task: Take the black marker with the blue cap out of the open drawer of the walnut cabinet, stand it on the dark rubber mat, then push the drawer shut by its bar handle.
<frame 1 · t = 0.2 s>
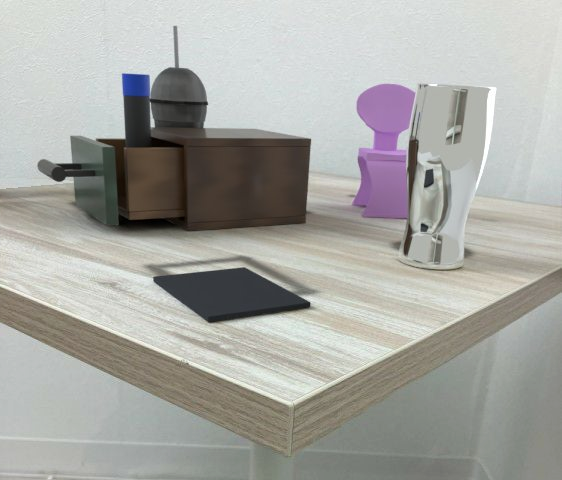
cabinet: (223, 215, 75), on the table
drawer: (131, 177, 68), point 5 cm above the table, slide at 7.0 cm, touching marker
toy chair: (380, 213, 83), on the table
beer glass: (429, 263, 60), on the table
marker: (140, 202, 69), point 2 cm above the table, touching drawer
mat: (228, 294, 48), on the table
beverage cup: (180, 198, 85), on the table
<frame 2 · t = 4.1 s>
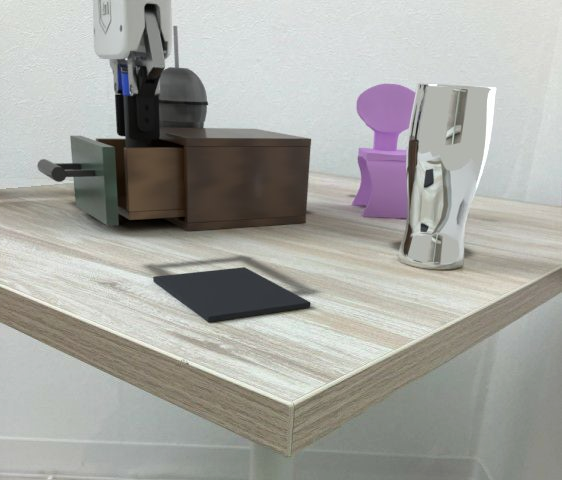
hand: (138, 136, 66), 9 cm above the table, tool pointing down, fingers closed on marker, 2 cm apart
marker: (140, 202, 69), point 2 cm above the table, touching drawer, gripper
everything else where it was.
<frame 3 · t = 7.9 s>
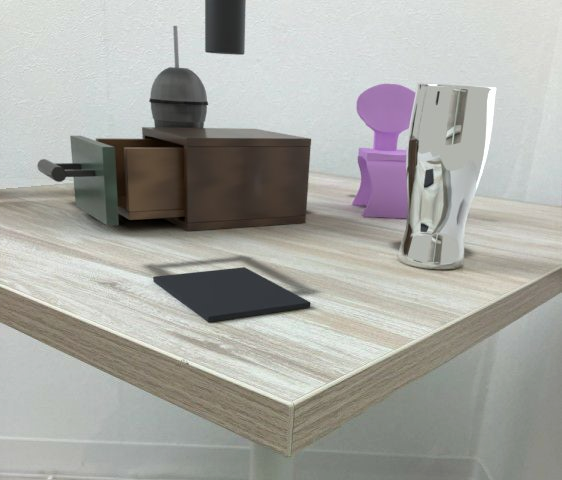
drawer: (131, 177, 68), point 5 cm above the table, slide at 7.0 cm
marker: (224, 53, 43), point 16 cm above the table, touching gripper
everything else where it was.
when the fingers open (7 cm above the table, at t = 11.7 s): marker stays where it is, resting on mat.
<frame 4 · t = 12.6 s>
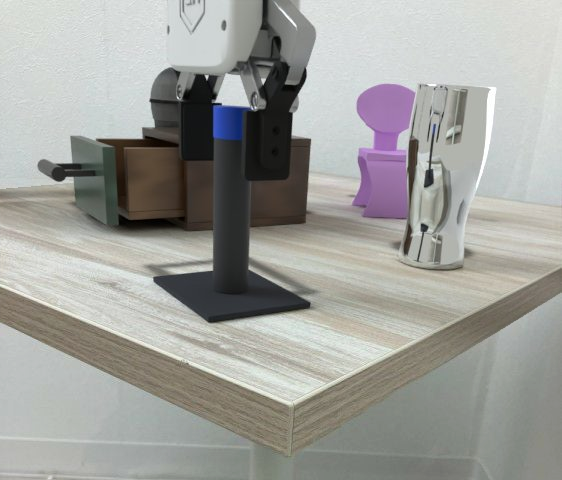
hand: (230, 169, 44), 9 cm above the table, tool pointing down, fingers open, 9 cm apart
marker: (230, 289, 48), resting on mat
everything else where it was.
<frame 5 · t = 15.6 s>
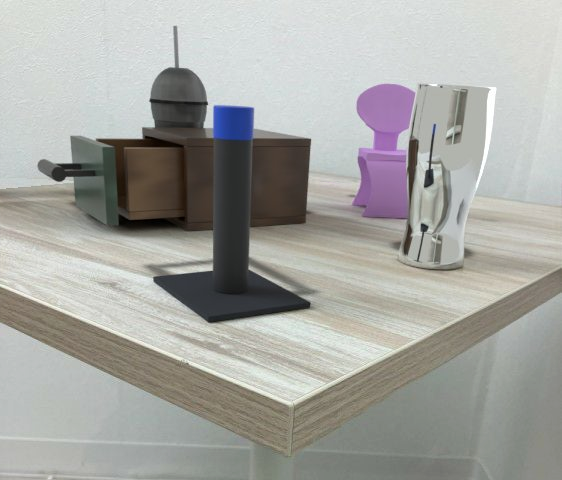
nothing on the table moved.
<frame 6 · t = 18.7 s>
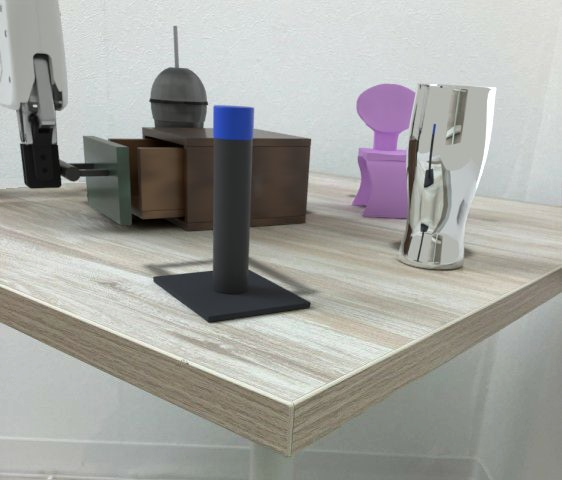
hand: (43, 186, 63), 4 cm above the table, tool pointing down, fingers closed
drawer: (144, 177, 68), point 5 cm above the table, slide at 5.7 cm
everything else where it was.
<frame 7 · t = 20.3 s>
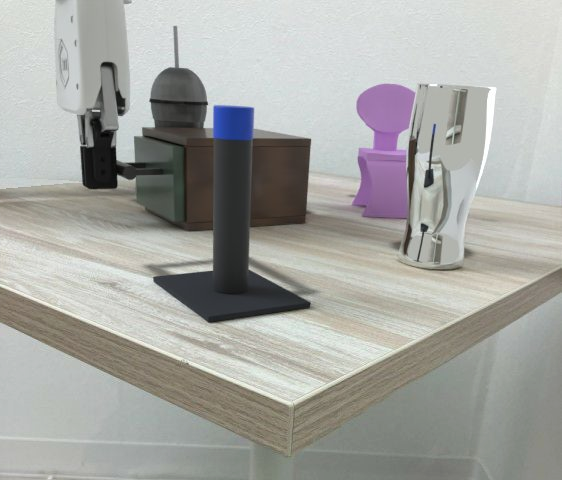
hand: (100, 187, 66), 4 cm above the table, tool pointing down, fingers closed
drawer: (193, 176, 71), point 5 cm above the table, slide at 0.0 cm, touching cabinet, gripper
everything else where it was.
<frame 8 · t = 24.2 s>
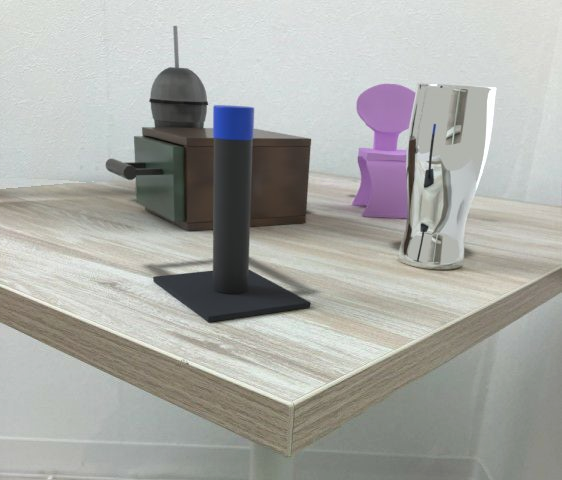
drawer: (193, 176, 71), point 5 cm above the table, slide at 0.0 cm, touching cabinet
everything else where it was.
at the end: marker inside the target area on the mat (0.1 cm from its centre), point 0.4 cm above the mat's base; marker tilted 0°; drawer slide at 0.0 cm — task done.
